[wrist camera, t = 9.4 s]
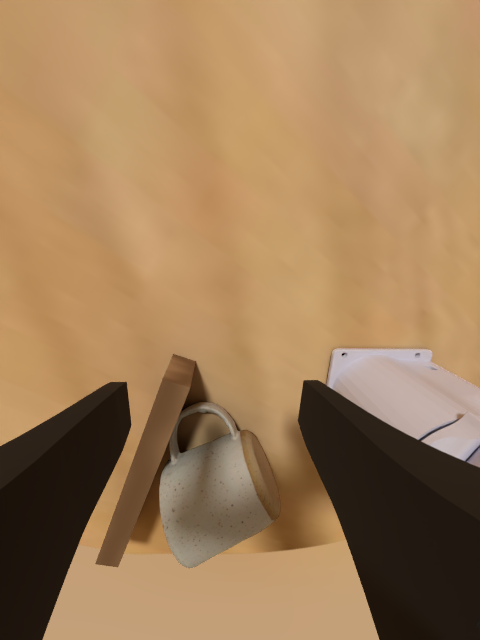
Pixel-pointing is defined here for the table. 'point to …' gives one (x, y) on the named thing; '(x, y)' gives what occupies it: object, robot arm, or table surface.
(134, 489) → the rail
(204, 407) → the ceramic mug
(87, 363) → the table surface
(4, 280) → the table surface
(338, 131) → the table surface
